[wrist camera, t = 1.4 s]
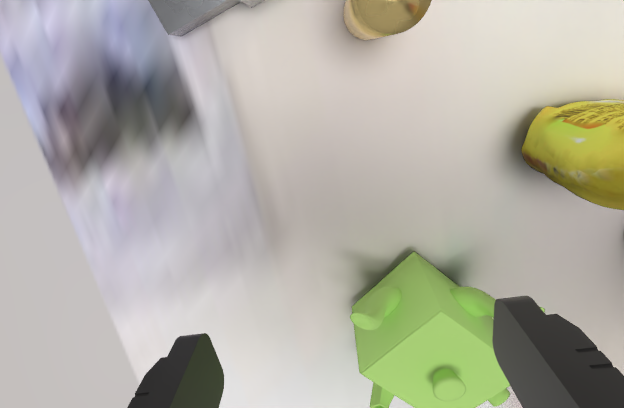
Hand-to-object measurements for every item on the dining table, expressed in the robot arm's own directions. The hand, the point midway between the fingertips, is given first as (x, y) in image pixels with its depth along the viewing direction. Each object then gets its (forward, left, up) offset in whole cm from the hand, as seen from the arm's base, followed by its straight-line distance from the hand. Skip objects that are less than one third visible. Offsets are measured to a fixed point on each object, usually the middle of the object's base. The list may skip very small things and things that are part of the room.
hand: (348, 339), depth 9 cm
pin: (-7, -8, -22) cm, 25 cm away
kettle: (-2, +19, -23) cm, 30 cm away
